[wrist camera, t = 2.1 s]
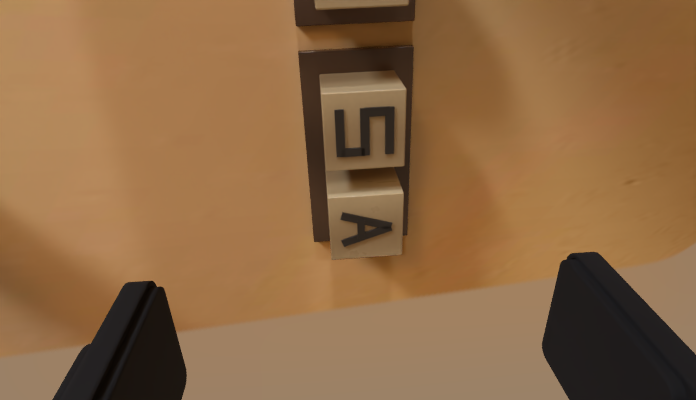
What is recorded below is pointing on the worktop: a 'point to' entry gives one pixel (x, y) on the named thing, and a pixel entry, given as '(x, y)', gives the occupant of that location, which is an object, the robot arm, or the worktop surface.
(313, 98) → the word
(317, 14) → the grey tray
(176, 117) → the worktop surface
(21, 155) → the worktop surface
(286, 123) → the worktop surface
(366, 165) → the tile
